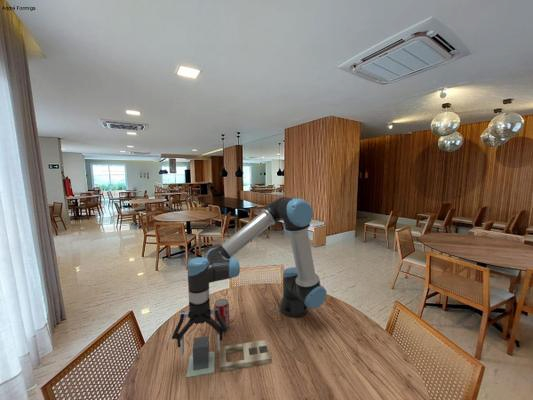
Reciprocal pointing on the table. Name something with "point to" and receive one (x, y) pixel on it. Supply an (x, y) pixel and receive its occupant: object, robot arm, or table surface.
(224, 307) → the soda can
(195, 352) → the block
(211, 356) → the mat
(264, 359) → the plate
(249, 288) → the table surface
